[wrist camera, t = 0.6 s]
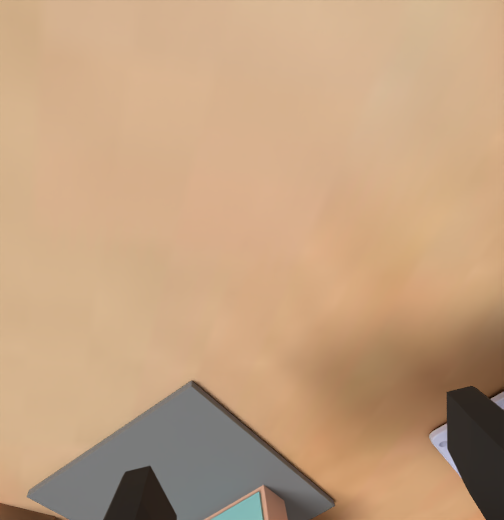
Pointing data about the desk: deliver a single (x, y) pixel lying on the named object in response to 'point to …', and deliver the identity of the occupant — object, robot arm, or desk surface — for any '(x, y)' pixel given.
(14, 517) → the walnut cube
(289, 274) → the desk surface
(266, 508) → the block
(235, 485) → the mat
